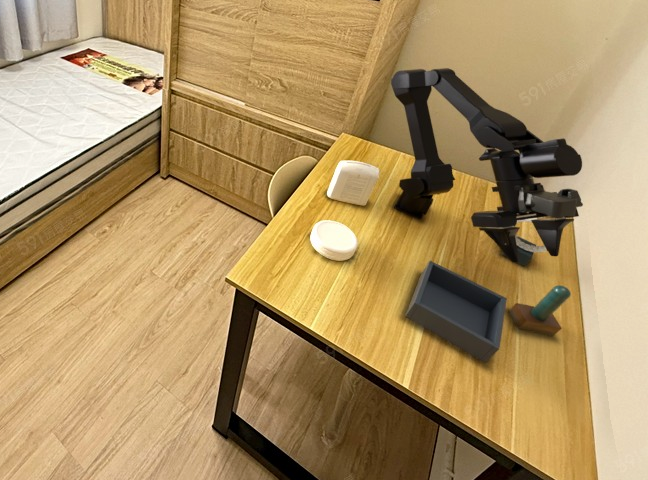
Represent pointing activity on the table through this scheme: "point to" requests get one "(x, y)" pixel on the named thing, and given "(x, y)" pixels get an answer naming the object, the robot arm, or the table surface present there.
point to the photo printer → (353, 182)
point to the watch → (526, 247)
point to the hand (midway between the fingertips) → (535, 259)
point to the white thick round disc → (333, 240)
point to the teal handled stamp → (541, 312)
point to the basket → (458, 311)
